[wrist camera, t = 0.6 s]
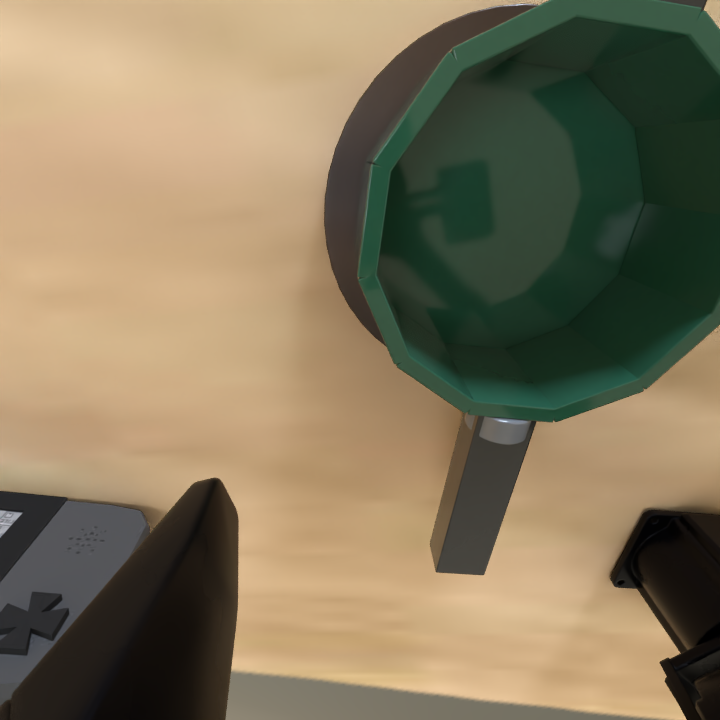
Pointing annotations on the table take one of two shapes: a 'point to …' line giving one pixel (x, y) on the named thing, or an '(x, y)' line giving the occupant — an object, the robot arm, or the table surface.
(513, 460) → the pot
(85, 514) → the handheld gaming console
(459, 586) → the table surface
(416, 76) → the dark round saucer
